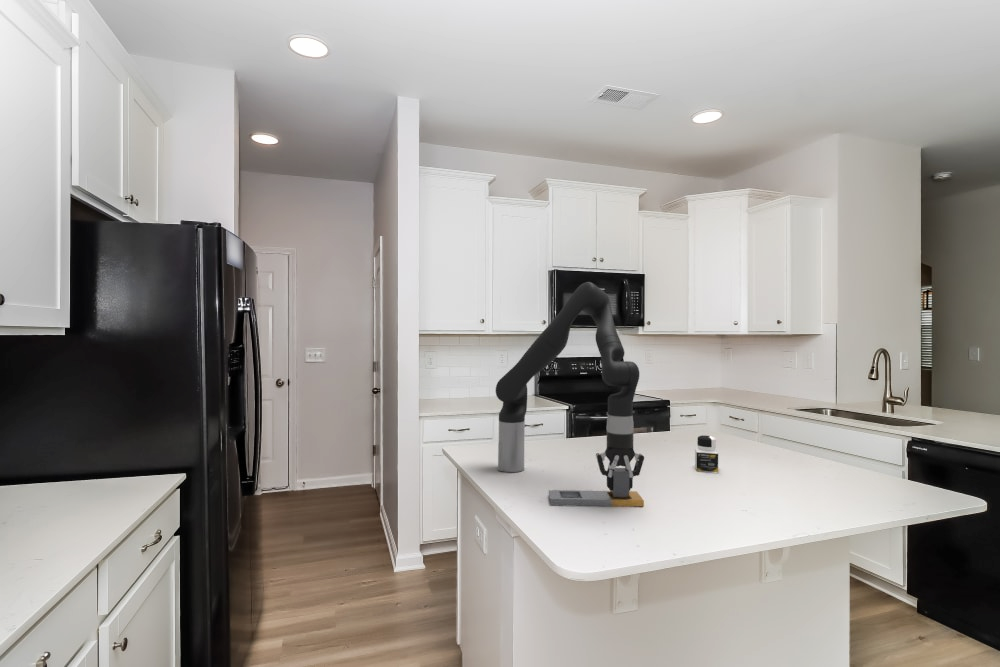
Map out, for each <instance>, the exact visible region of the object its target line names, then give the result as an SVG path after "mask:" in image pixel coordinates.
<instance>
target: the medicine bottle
mask: <svg viewBox="0 0 1000 667" xmlns="http://www.w3.org/2000/svg"><path fill="white" fill-rule="evenodd" d="M696 442H697V444H696V445H697V446H696V447H695V448H694V467H695V471H696V472H700V471H703V472H702V473H704V472H705V473H712V472H717V473H716V474H718V473H719V452H718V450H717V448H716V447H717V446H716V445H717V444H716V442H717V439H716V437H714V436H711V435H705V434H704V435H699V436H698V437H697V440H696Z"/></svg>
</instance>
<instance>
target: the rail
mask: <svg viewBox="0 0 1000 667" xmlns="http://www.w3.org/2000/svg"><path fill="white" fill-rule="evenodd" d="M569 497H580V498H569ZM548 499H550V500H549V502H550V503H551V504H550V506H563V505H585V506H584V507H628V506H644V505H645V503H644V502H645V499H643V498H642V496H641V495H640V493H639V492H638V491H636V490H635V491H633V490H630V491H629V499H612V497H611V496H610V490H574V489H573V490H571V489H570V490H567V489H566V490H565V489H549V490H548ZM644 507H645V506H644Z"/></svg>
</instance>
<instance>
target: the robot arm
mask: <svg viewBox="0 0 1000 667" xmlns="http://www.w3.org/2000/svg"><path fill="white" fill-rule="evenodd" d="M581 312H584V313H585V314H587V315H589V316H590V317H591V318H592V320H593V321H594V324H595V325H596V332H595V343H596V346H597V349H598V352H599V354H600V360H601V378H602V381H603V382H604V383H605V384H606V385H608V386H610V387H619V386H621V389H620V391H619V392H616V393H612V394H610V395H609V396H608V398H607V419H606V427H605V428H606V449H605V451H604V452H602V453H599V452H597V453H595V458H596V460H597V464H598V469H599V472H600V473H601V476H605V477H606V487H607V489H609V491H610V490H613V478H612V475H613V471H614V470H615V468H617V467H624V468H625V469H627V471H629V491H631V489H633V488H634V487H633V485H634V484H633V482H634V481H633V480H634V479H633V478H635V477H636V476H638V477H639V476H640V473H641V471H642V467H643V463H644V460H645V456H644V455H643V454H642V453H637V452H635V450H634V426H635V425H634V416H633V415H634V413H633V412H634V411H633V410H634V409H633V408H634V407H633V404H634V398H635V394H636V390H637V386H638V383H639V380H640V369H639V366H638V365H637V363H635V362H634V361H630V360H629V361H627V360H626V361H621V360H622V359H623V358H624V357H625V348H624V347H623V343H622V342H621V339H620V336H619V334H618V332H617V329H616V325H615V322H614V317H613V316H614V315H613V311H612V305H611V301H610V298H609V296H608V294H607V293H606V292H605V291H604V290H602V289H601V288H600V287H599V286H597V285H596V284H595V283H593V282H590V281H587V282H583V283H581V284H580V285H579V286H578V287H576V288H575V290H574V292H573V293H572V294H571V295H570V297H569V298H568V300H567V301H566V302H565V304H564V306H563V307H562V309H561V310H560V311H559V313H557V315H556V316H555V318H554V319H553V320H552V321H551V322H550V323H549V324H548V326H547V327H546V328H545V329H544V330H543V331H542V332H541V333H540V335H538V337H537V338H536V339H535V340H534V342H533V343H532V344H531V345H530V347H529V348H528V349H527V350H526V351H525V353H523V355H522V357H521V358H520V359H519V360H518V362H517V363H516V364H515V365H513V367H511V368H510V369H509V370H508V371H507V372H506V373H505V374H504V375H503V376H502V377H501V378H500V379H499V380H498V381H497V383H496V385H495V395H496V397H497V399H498V400H499V401H500V402H502V406H501V407H502V408H501V409H500V411H499V413H498V444H497V445H498V446H497V447H498V448H497V449H498V450H497V459H498V460H497V466H498V467H497V470H498V472H505V473H519V472H522V471H524V470H525V427H526V426H525V419H526V418H525V417H526V414H527V408H528V384H529V382H530V381H531V379H533V377H535V375H537V374H538V373H539V372H541V371H543V369H545V368H546V367H547V366H549V365H550V364H552V362H553V361H554V360H555V359H557V357H558V356H559V355H560V354H561V353H562V351H563V350H564V349H565V347H566V346H567V344H568V342H569V341H568V339H569V336H570V331H571V326H572V324H573V322H574V321H575V319H576V318H577V316H578V315H579V314H581ZM605 457H606V458H607V460H608V461H609V462H608V465H607V466H608V467H607V469H606V468H605V464H604V461H605ZM633 459H634V460H635V464H634V467H633V470H632V467H631V461H633Z"/></svg>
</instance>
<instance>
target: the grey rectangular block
mask: <svg viewBox="0 0 1000 667" xmlns="http://www.w3.org/2000/svg"><path fill="white" fill-rule="evenodd" d="M612 478H613V490H610V489H609V491H610V496H611V497H612V498H611V499H629V471H627V469H625V467H616V468H615V470H614V471H613V475H612Z"/></svg>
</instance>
